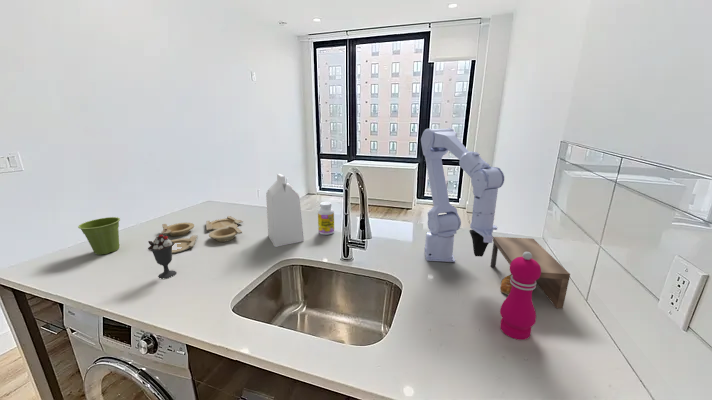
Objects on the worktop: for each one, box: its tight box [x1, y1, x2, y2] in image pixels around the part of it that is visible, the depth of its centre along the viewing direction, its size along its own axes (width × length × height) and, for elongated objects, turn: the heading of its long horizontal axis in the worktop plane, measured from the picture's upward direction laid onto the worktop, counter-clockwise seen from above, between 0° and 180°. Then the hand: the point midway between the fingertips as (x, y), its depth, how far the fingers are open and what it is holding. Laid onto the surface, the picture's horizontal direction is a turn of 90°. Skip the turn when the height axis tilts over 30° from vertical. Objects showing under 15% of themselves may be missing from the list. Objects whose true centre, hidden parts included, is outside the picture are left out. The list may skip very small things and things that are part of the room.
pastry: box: [500, 273, 512, 296], centre depth 87 cm, size 9×7×4 cm
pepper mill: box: [499, 252, 541, 341], centre depth 68 cm, size 7×7×20 cm
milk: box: [265, 173, 305, 247], centre depth 119 cm, size 12×12×26 cm
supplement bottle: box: [317, 201, 335, 236], centre depth 127 cm, size 7×7×13 cm
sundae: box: [147, 229, 177, 280], centre depth 94 cm, size 7×7×15 cm
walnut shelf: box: [490, 236, 571, 310], centre depth 88 cm, size 12×22×10 cm, turn 172°
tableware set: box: [161, 215, 244, 255], centre depth 126 cm, size 35×29×4 cm
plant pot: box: [77, 216, 121, 256], centre depth 112 cm, size 12×12×11 cm
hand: (478, 255), depth 89 cm, fingers closed
